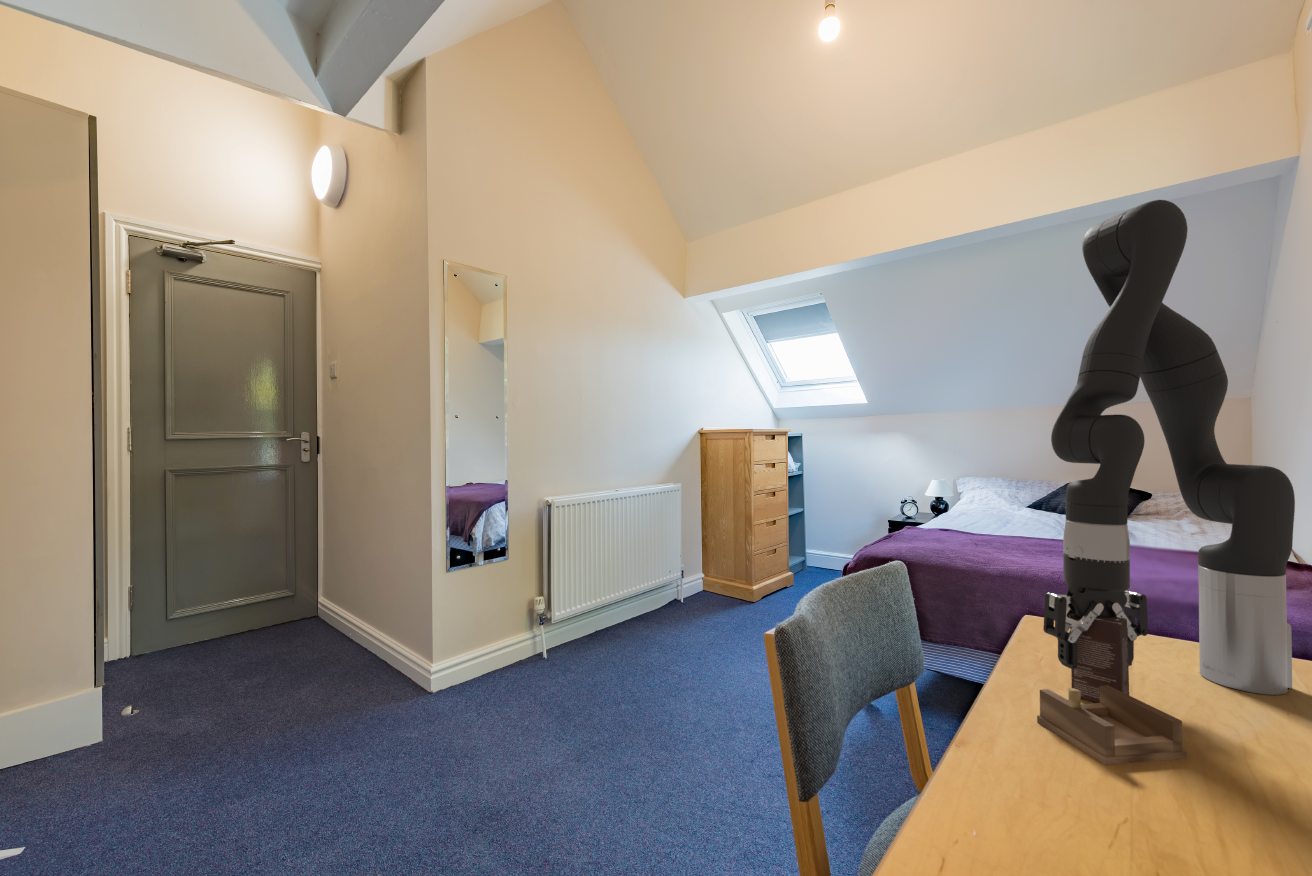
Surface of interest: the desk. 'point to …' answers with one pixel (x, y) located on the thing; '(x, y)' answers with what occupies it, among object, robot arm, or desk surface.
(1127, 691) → the box
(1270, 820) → the desk surface
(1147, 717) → the drawer
